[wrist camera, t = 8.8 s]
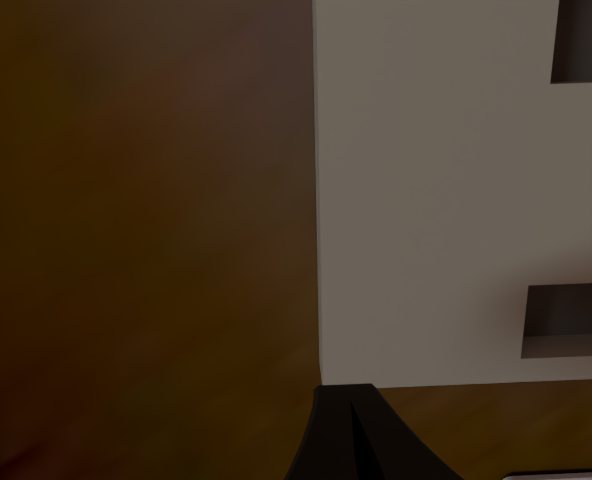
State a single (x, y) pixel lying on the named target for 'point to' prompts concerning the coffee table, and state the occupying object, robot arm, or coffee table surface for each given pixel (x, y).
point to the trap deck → (453, 190)
